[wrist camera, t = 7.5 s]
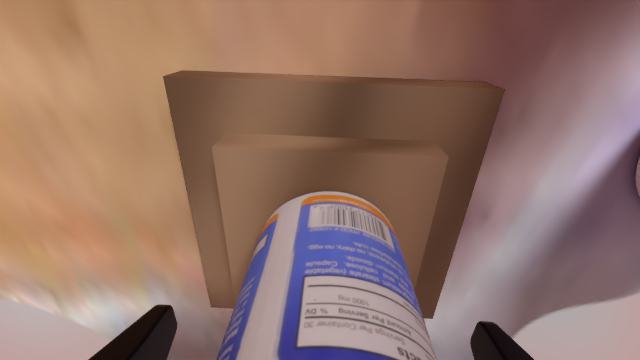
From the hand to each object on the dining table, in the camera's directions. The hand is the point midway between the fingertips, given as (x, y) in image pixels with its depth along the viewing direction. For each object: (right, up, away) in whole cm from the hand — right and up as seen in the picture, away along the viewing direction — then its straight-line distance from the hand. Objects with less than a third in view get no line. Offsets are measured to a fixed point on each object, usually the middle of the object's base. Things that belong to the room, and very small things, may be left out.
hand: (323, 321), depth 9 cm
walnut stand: (0, +3, +6) cm, 6 cm away
